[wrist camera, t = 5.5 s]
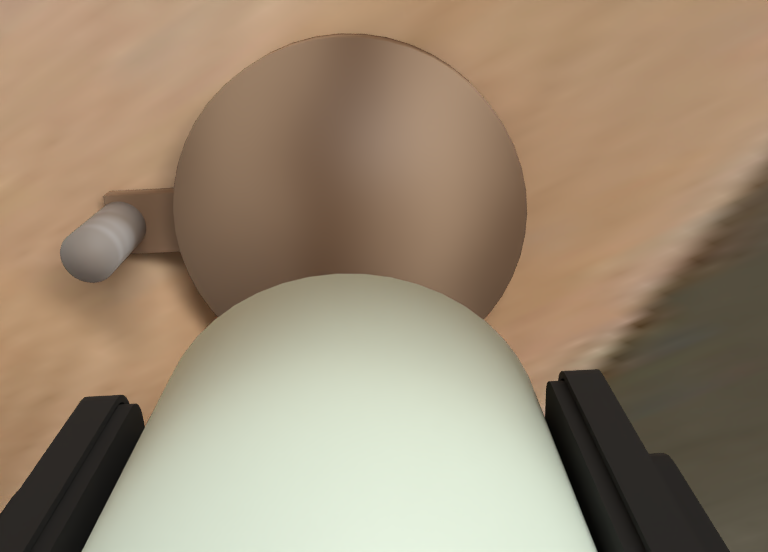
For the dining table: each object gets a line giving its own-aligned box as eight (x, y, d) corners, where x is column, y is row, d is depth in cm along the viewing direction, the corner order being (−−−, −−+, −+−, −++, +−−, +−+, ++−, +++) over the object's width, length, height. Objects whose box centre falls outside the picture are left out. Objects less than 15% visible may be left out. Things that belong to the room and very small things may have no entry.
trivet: (521, 23, 22) (545, 31, 19) (516, 347, 26) (535, 399, 23) (68, 48, 22) (14, 61, 19) (133, 365, 26) (99, 420, 23)
